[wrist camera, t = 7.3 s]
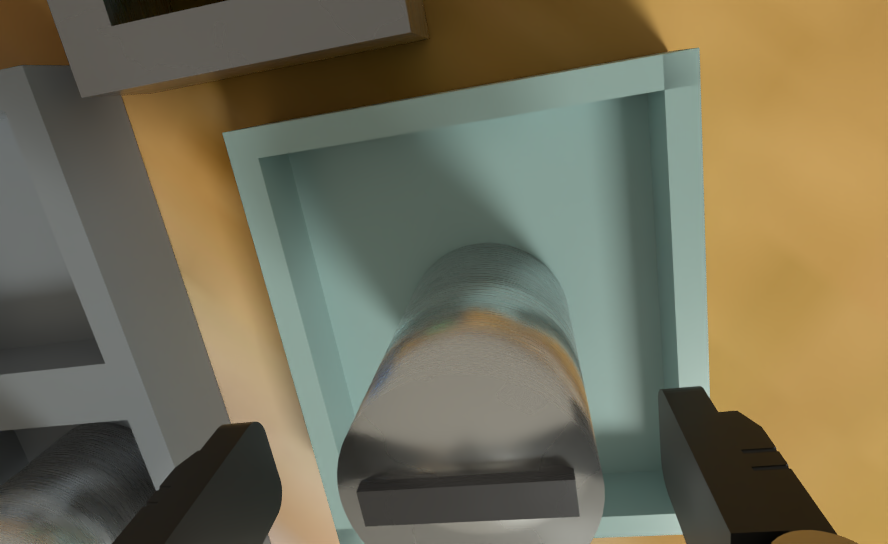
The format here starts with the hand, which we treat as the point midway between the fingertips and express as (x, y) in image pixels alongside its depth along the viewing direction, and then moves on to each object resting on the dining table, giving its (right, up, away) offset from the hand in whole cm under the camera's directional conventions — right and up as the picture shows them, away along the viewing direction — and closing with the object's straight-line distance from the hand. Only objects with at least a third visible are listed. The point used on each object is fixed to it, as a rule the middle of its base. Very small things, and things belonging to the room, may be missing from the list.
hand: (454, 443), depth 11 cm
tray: (+1, +2, +7) cm, 8 cm away
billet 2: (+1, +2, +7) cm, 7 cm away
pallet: (-13, 0, +10) cm, 17 cm away
